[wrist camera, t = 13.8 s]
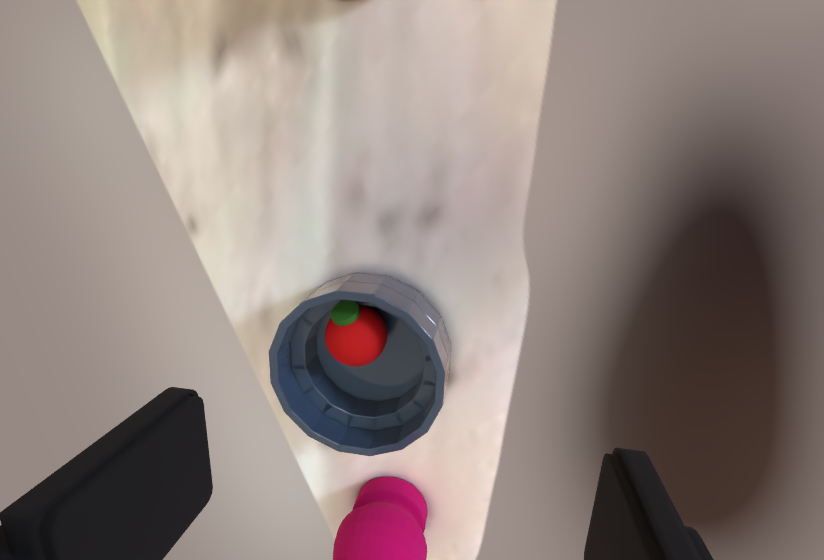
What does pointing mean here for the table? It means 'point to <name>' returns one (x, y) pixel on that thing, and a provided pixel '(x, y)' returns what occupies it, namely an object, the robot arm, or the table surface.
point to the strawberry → (355, 334)
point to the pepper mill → (384, 523)
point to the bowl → (363, 369)
